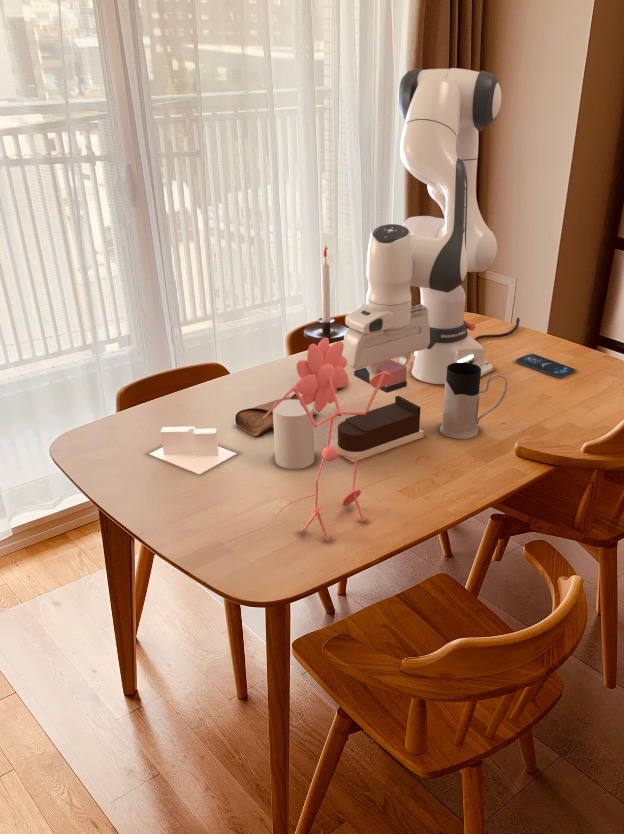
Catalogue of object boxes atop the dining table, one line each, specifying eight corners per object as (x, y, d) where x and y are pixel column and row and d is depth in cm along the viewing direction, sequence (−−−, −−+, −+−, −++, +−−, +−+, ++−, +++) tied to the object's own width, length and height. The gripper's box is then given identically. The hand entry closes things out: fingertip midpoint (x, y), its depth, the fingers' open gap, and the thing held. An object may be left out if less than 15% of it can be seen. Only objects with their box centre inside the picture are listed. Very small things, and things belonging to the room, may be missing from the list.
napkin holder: (148, 454, 170) (144, 430, 167) (186, 434, 178) (183, 411, 175) (200, 474, 163) (197, 449, 160) (237, 453, 171) (235, 429, 168)
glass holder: (438, 421, 187) (442, 360, 178) (499, 422, 187) (506, 361, 179) (441, 438, 179) (445, 376, 171) (504, 439, 179) (511, 377, 171)
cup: (297, 446, 174) (295, 396, 168) (322, 460, 169) (320, 408, 163) (267, 458, 169) (264, 407, 163) (292, 472, 165) (289, 420, 158)
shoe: (399, 423, 185) (400, 393, 181) (423, 437, 180) (425, 406, 176) (329, 447, 174) (328, 416, 170) (352, 462, 169) (352, 430, 165)
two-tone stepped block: (354, 375, 170) (353, 357, 168) (373, 369, 173) (374, 351, 171) (386, 393, 163) (387, 373, 161) (406, 386, 166) (407, 367, 164)
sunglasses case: (256, 436, 177) (246, 408, 176) (242, 441, 182) (231, 413, 181) (320, 414, 187) (310, 386, 186) (304, 419, 193) (295, 393, 192)
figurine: (397, 506, 154) (404, 332, 136) (296, 562, 138) (288, 372, 120) (342, 478, 163) (341, 310, 144) (241, 527, 147) (225, 345, 128)
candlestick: (352, 392, 199) (353, 249, 181) (309, 395, 197) (305, 251, 178) (343, 375, 208) (343, 237, 190) (302, 378, 206) (297, 239, 187)
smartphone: (559, 376, 209) (514, 359, 218) (558, 378, 210) (514, 361, 219) (576, 369, 214) (532, 353, 223) (576, 371, 214) (531, 355, 223)
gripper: (417, 298, 166) (415, 361, 173) (338, 318, 155) (339, 384, 162) (438, 306, 162) (434, 370, 169) (358, 327, 151) (358, 395, 158)
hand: (387, 377), depth 166 cm, fingers closed on two-tone stepped block, 5 cm apart
